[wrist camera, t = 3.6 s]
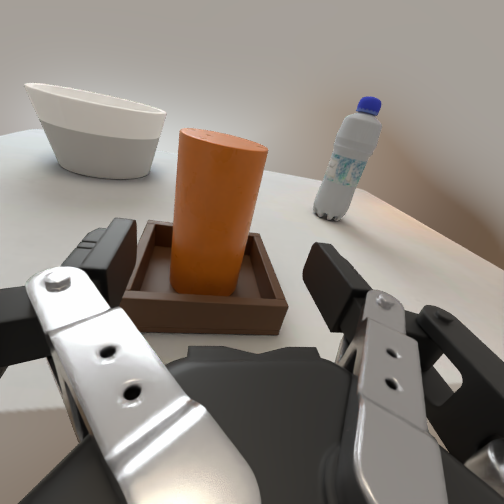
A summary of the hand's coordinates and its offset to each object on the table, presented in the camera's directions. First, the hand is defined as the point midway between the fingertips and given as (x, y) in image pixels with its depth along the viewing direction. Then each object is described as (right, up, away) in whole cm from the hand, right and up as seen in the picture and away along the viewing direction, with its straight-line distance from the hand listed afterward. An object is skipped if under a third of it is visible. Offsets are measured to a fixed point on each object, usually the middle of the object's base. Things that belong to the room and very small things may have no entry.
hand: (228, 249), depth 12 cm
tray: (-3, -3, +12) cm, 13 cm away
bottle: (+15, +7, +37) cm, 41 cm away
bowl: (-25, +15, +34) cm, 45 cm away
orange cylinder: (-3, -3, +11) cm, 12 cm away
